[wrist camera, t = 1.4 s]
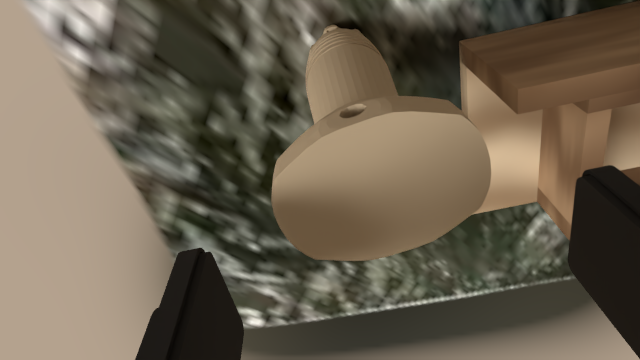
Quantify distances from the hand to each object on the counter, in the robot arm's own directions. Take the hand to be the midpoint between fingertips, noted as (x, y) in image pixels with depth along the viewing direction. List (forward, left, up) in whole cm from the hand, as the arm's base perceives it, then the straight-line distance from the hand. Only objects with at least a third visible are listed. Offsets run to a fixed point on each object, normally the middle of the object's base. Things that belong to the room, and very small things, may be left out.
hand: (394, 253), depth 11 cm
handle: (0, 0, -17) cm, 17 cm away
